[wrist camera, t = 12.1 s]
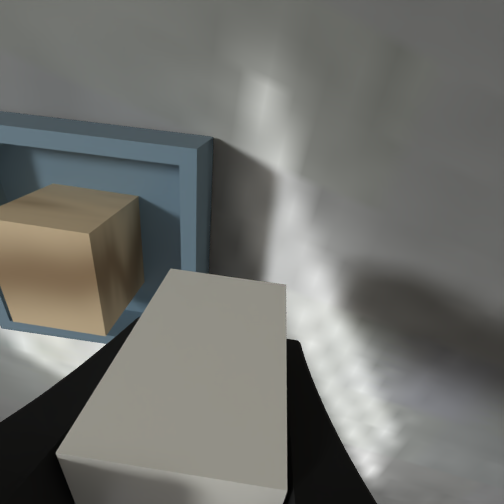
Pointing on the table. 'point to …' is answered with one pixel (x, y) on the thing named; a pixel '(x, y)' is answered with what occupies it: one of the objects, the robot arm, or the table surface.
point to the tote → (117, 191)
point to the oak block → (70, 257)
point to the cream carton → (189, 401)
